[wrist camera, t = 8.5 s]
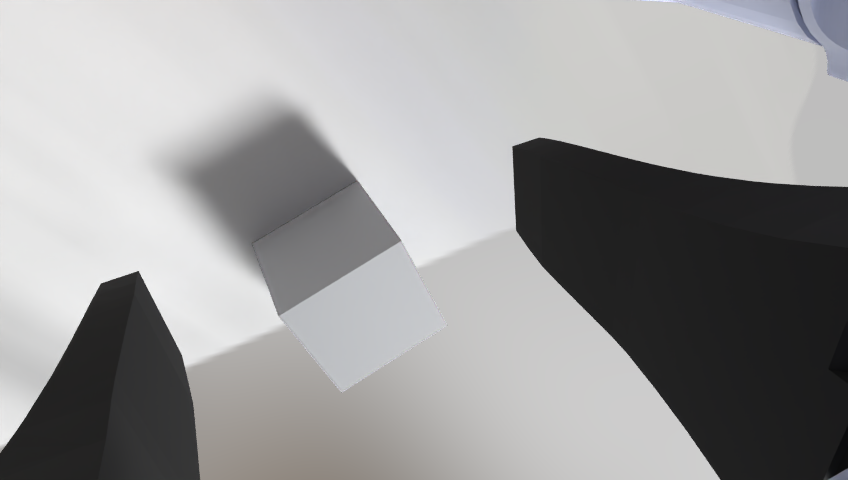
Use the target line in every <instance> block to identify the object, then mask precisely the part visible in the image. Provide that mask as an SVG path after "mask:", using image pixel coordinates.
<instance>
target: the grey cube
mask: <svg viewBox="0 0 848 480" xmlns="http://www.w3.org/2000/svg"><path fill="white" fill-rule="evenodd" d="M252 245H253V247H254V250H255V253H256V256H257V258H258V261H259V264H260V267H261V269H262V272H263V275H264V278H265V280H266V283H267V286H268V289H269V291H270V294H271V297H272V300H273V302H274V305H275V308H276V311H277V313H278V316H279V317H280V319H281V320H282V321H283V322H284V324H285V325H286V326H287V327H288V328H289V330H290V331H291V332H292V333H293V334H294V336H295V337H296V338H297V339H298V340H299V342H300V343H301V344H302V345H303V347H304V348H305V349H306V350H307V351H308V352H309V354H310V355H311V356H312V357H313V359H314V360H315V361H316V362H317V363H318V365H319V366H320V367H321V368H322V370H323V371H324V372H325V373H326V375H327V376H328V377H329V378H330V379H331V380H332V382H333V383H334V384H335V385H336V387H337V388H338V389H339V390H340V391H341V393H342V392H344V391H345V390H347V389H348V388H350V387H351V386H353V385H355V384H356V383H357V382H359V381H361V380H363V379H364V378H366V377H367V376H369V375H370V374H372V373H374V372H375V371H377V370H378V369H380V368H381V367H383V366H385V365H386V364H388V363H389V362H391V361H392V360H394V359H395V358H397V357H399V356H400V355H402V354H403V353H405V352H407V351H408V350H410V349H411V348H413V347H415V346H416V345H418V344H419V343H421V342H422V341H424V340H426V339H427V338H429V337H430V336H432V335H433V334H435V333H437V332H438V331H440V330H441V329H443V328H445V327H446V326H448V325H447V323H446V321H445V319H444V318H443V316H442V314H441V312H440V310H439V308H438V307H437V305H436V303H435V301H434V299H433V298H432V296H431V294H430V292H429V290H428V289H427V287H426V285H425V283H424V281H423V279H422V277H421V275H420V274H419V272H418V270H417V268H416V266H415V265H414V263H413V261H412V259H411V257H410V255H409V254H408V252H407V250H406V248H405V246H404V244H403V243H402V241H401V239H400V238H399V237H398V235H397V234H396V233H395V231H394V230H393V228H392V227H391V226H390V224H389V223H388V222H387V220H386V219H385V217H384V216H383V215H382V213H381V212H380V211H379V209H378V208H377V206H376V205H375V204H374V202H373V201H372V200H371V198H370V197H369V195H368V194H367V193H366V191H365V190H364V189H363V187H362V186H361V184H360V183H359V182H358V181H356V182H354V183H353V184H351V185H349V186H348V187H346V188H344V189H343V190H341V191H339V192H338V193H336V194H334V195H333V196H331V197H329V198H328V199H326V200H324V201H323V202H321V203H319V204H318V205H316V206H314V207H312V208H311V209H309V210H307V211H306V212H304V213H302V214H301V215H299V216H297V217H296V218H294V219H292V220H291V221H289V222H287V223H286V224H284V225H282V226H281V227H279V228H277V229H276V230H274V231H272V232H271V233H269V234H267V235H266V236H264V237H262V238H261V239H259V240H257V241H256V242H254V243H252Z"/></svg>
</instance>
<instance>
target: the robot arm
mask: <svg viewBox="0 0 848 480" xmlns="http://www.w3.org/2000/svg"><path fill="white" fill-rule="evenodd" d="M643 1H662V2H678V3H681V4H685V5H688V6H691V7H695V8H698V9H701V10H705V11H708V12H711V13H714V14H718V15H721V16H724V17H728V18H731V19H734V20H738V21H741V22H744V23H747V24H751V25H754V26H757V27H761V28H764V29H767V30H771V31H774V32H777V33H780V34H784V35H787V36H790V37H794V38H797V39H800V40H804V41H807V42H810V43H813V44H817V45H820V46H823V47H824V49H825V52H826V54H827V60H828V64H827V73H828V75H830V76H833V77H835V78H839V79H841V80H844V81H847V82H848V0H643ZM513 169H514V191H515V214H516V231H517V232H518V234H519V235H520V236H521V238H522V239H523V241H524V242H525V244H526V245H527V247H528V248H529V249H530V251H531V252H532V253H533V255H534V256H535V257H536V258H537V260H538V261H539V263H540V264H541V265H542V266H543V267H544V269H545V270H546V271H547V272H548V273H549V274H550V275H551V276H552V277H553V278H554V279H555V280H556V281H557V282H558V283H559V284H560V285H561V286H562V287H563V288H564V289H565V290H566V291H567V292H568V293H569V294H570V295H571V296H572V297H573V298H574V299H575V300H576V301H577V302H578V303H579V304H580V305H581V306H582V307H583V308H584V309H585V310H586V311H587V312H588V313H589V314H590V315H591V316H592V317H593V318H594V319H595V320H596V321H597V322H598V323H599V324H600V325H601V326H602V327H603V328H604V329H605V330H606V331H607V332H608V333H609V334H610V335H611V336H612V337H613V338H614V339H615V341H617V343H618V344H619V345H620V346H621V347H622V348H623V349H624V350H625V351H626V353H627V354H628V355H629V356H630V358H631V359H632V360H633V361H634V362H635V364H636V365H637V366H638V368H639V369H640V370H641V371H642V373H643V374H644V375H645V376H646V378H647V379H648V380H649V381H650V382H651V384H652V385H653V386H654V387H655V389H656V390H657V392H658V393H659V394H660V396H661V397H662V398H663V400H664V401H665V402H666V404H667V405H668V406H669V408H670V409H671V410H672V412H673V413H674V414H675V416H676V417H677V418H678V419H679V421H680V422H681V424H682V425H683V426H684V428H685V429H686V430H687V432H688V433H689V435H690V436H691V438H692V439H693V441H694V442H695V443H696V445H697V446H698V448H699V449H700V451H701V452H702V453H703V455H704V456H705V457H706V459H707V461H708V462H709V464H710V465H711V466H712V468H713V469H714V471H715V472H716V474H717V475H718V477H719V478H720V480H848V187H829V186H806V185H790V184H774V183H764V182H753V181H745V180H738V179H730V178H723V177H715V176H709V175H703V174H697V173H692V172H687V171H682V170H677V169H672V168H667V167H662V166H658V165H653V164H649V163H645V162H641V161H636V160H632V159H628V158H624V157H620V156H616V155H613V154H609V153H605V152H601V151H597V150H593V149H590V148H586V147H582V146H578V145H574V144H570V143H565V142H561V141H557V140H551V139H545V138H537V139H534V140H531V141H528V142H525V143H522V144H519V145H516V146H513ZM0 480H200V474H199V463H198V451H197V440H196V429H195V418H194V408H193V401H192V397H191V392H190V388H189V383H188V380H187V375H186V371H185V366H184V362H183V358H182V355H181V353H180V351H179V349H178V347H177V345H176V343H175V341H174V339H173V337H172V335H171V333H170V331H169V329H168V327H167V325H166V324H165V322H164V320H163V318H162V316H161V314H160V312H159V310H158V308H157V306H156V304H155V302H154V300H153V298H152V296H151V294H150V292H149V291H148V289H147V287H146V285H145V283H144V281H143V279H142V277H141V275H140V273H139V271H137V272H134V273H131V274H128V275H125V276H122V277H119V278H116V279H113V280H110V281H107V282H104V283H101V285H100V286H99V288H98V290H97V292H96V294H95V296H94V297H93V299H92V301H91V303H90V305H89V307H88V309H87V311H86V313H85V315H84V317H83V319H82V321H81V323H80V324H79V326H78V328H77V330H76V332H75V334H74V336H73V338H72V340H71V342H70V344H69V345H68V347H67V349H66V351H65V353H64V354H63V356H62V358H61V360H60V362H59V363H58V365H57V367H56V369H55V371H54V372H53V374H52V376H51V378H50V379H49V381H48V383H47V384H46V386H45V387H44V389H43V390H42V392H41V394H40V395H39V397H38V398H37V400H36V402H35V403H34V405H33V406H32V408H31V410H30V411H29V413H28V414H27V416H26V418H25V419H24V421H23V422H22V424H21V425H20V426H19V428H18V429H17V431H16V432H15V434H14V435H13V436H12V438H11V439H10V441H9V442H8V443H7V445H6V446H5V448H4V449H3V450H2V452H1V453H0Z"/></svg>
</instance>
